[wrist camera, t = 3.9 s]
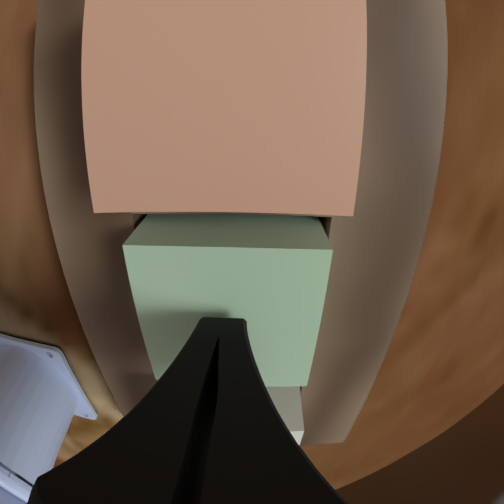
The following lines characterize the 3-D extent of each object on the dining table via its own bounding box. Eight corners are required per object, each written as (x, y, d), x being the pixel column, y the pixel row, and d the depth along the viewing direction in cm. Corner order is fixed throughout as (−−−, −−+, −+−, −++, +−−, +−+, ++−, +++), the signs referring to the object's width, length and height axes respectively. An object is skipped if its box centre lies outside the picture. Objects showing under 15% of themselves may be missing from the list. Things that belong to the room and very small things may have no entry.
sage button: (172, 324, 14) (155, 379, 11) (156, 204, 12) (122, 245, 9) (298, 328, 14) (306, 386, 11) (313, 206, 12) (332, 249, 8)
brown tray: (139, 410, 19) (133, 433, 17) (66, 6, 8) (39, -2, 6) (339, 418, 19) (343, 441, 17) (419, 1, 8) (444, -10, 6)
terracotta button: (141, 175, 10) (93, 212, 7) (139, 5, 7) (88, -27, 4) (323, 176, 10) (353, 216, 7) (330, 0, 7) (363, -40, 4)
